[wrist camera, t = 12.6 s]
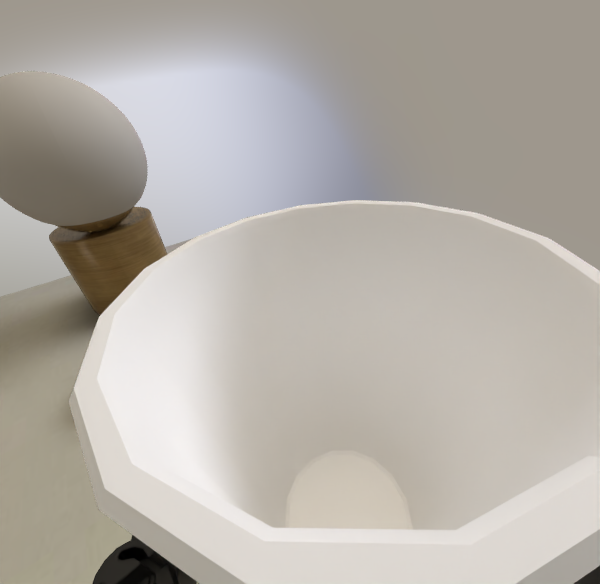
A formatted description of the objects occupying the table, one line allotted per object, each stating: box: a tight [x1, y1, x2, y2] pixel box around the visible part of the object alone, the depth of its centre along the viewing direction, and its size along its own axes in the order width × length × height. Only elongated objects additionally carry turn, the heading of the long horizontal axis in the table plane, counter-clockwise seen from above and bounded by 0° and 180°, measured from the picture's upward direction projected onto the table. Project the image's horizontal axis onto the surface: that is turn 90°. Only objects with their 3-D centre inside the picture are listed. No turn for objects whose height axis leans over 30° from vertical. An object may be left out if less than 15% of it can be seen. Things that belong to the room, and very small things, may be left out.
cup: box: [69, 200, 600, 584], centre depth 10 cm, size 10×10×13 cm
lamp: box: [0, 71, 167, 315], centre depth 34 cm, size 15×14×25 cm
